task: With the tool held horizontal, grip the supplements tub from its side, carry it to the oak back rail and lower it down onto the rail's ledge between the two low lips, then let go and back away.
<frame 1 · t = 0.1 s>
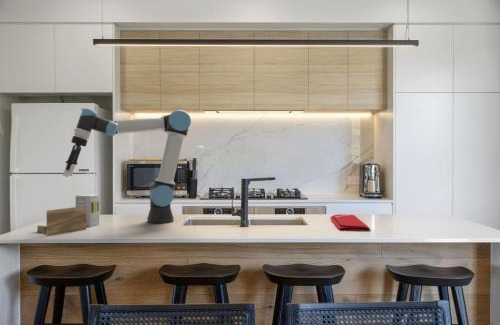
hand: (67, 176, 223), 28 cm above the countertop, tool tilted 20°, fingers open, 13 cm apart
supplement box: (87, 225, 235), on the countertop
dish drying mat: (348, 225, 237), on the countertop
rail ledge: (62, 230, 218), on the countertop
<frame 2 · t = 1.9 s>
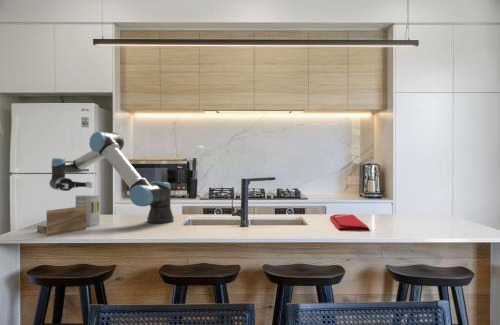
hand: (79, 186, 242), 21 cm above the countertop, tool horizontal, fingers open, 13 cm apart
nothing on the countertop moved.
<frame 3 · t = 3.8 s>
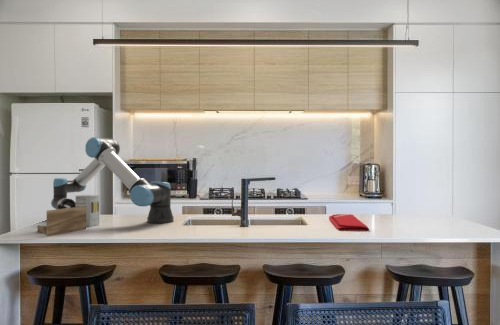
hand: (81, 207, 240), 9 cm above the countertop, tool horizontal, fingers open, 13 cm apart
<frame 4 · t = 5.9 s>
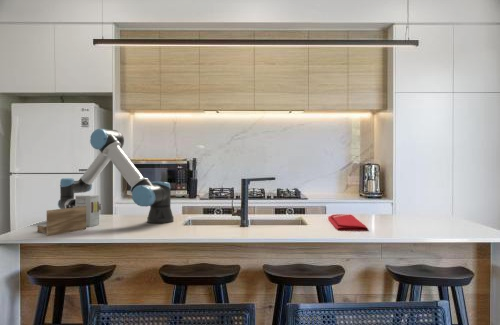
hand: (90, 208, 233), 10 cm above the countertop, tool horizontal, fingers closed on supplement box, 12 cm apart
supplement box: (87, 225, 235), on the countertop, touching gripper
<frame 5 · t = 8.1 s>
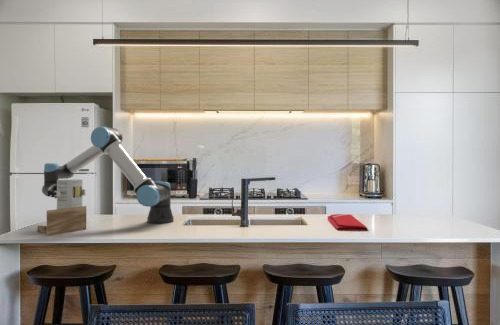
hand: (72, 193, 224), 18 cm above the countertop, tool horizontal, fingers closed on supplement box, 12 cm apart
supplement box: (69, 211, 227), point 9 cm above the countertop, touching gripper
when the fingers open (12 cm above the countertop, at t = 10.6 s): supplement box drops 1 cm, resting on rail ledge.
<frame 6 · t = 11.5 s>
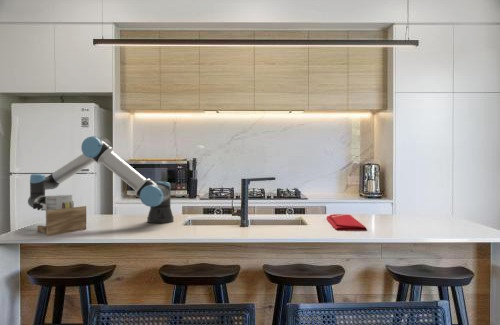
hand: (59, 206, 218), 13 cm above the countertop, tool horizontal, fingers open, 13 cm apart
supplement box: (59, 228, 220), point 1 cm above the countertop, touching gripper, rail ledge
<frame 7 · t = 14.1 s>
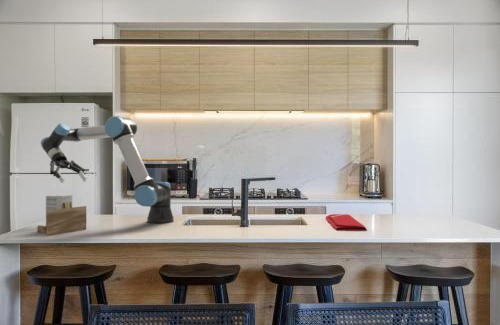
hand: (74, 180, 238), 25 cm above the countertop, tool tilted 50°, fingers open, 13 cm apart
supplement box: (59, 228, 220), point 1 cm above the countertop, touching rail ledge
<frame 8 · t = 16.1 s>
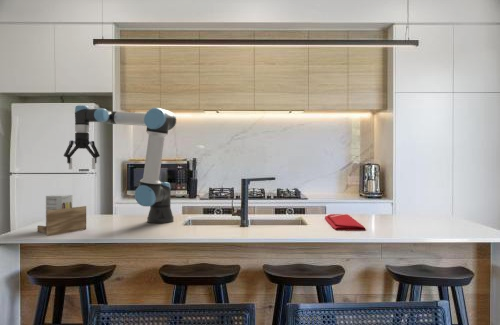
hand: (82, 169, 248), 31 cm above the countertop, tool pointing down, fingers open, 13 cm apart
at the end: supplement box inside the target area (0.6 cm from its centre), point 1.0 cm above the countertop; supplement box tilted 0°; the gripper is holding nothing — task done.
